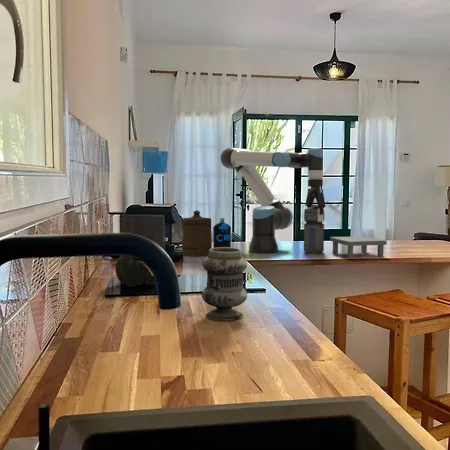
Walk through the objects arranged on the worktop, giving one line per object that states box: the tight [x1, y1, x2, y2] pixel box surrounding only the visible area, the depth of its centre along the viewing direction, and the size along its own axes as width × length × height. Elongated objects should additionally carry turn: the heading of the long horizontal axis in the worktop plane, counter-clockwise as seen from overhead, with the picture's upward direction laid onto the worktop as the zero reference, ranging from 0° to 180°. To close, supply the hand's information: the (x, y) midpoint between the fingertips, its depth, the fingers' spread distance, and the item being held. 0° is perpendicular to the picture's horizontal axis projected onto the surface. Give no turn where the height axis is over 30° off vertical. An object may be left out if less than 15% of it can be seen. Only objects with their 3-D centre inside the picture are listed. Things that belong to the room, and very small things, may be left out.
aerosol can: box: [212, 217, 232, 248], centre depth 215 cm, size 8×8×20 cm
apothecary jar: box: [201, 247, 248, 322], centre depth 128 cm, size 12×12×18 cm
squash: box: [114, 255, 155, 288], centre depth 168 cm, size 14×15×15 cm
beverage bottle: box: [303, 203, 325, 255], centre depth 247 cm, size 10×13×25 cm
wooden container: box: [181, 210, 213, 257], centre depth 240 cm, size 15×15×22 cm
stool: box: [329, 235, 388, 259], centre depth 240 cm, size 20×20×8 cm
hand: (314, 220), depth 246 cm, fingers open, 13 cm apart
